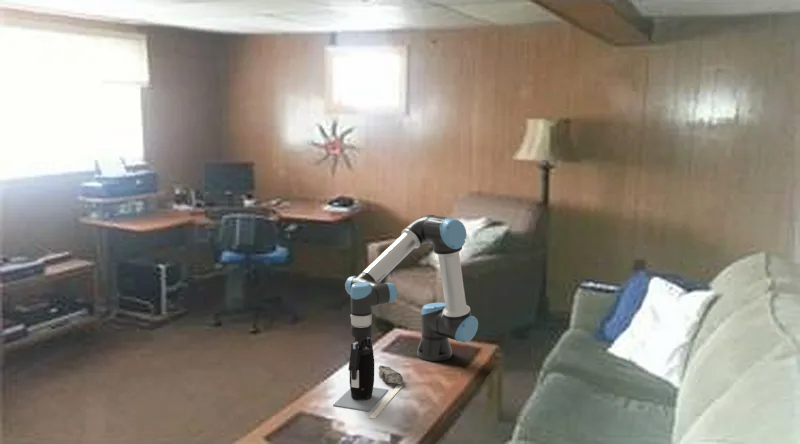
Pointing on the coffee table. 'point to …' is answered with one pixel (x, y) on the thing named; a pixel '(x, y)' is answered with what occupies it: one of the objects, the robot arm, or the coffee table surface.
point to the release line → (385, 402)
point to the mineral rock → (390, 375)
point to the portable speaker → (364, 375)
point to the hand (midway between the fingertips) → (361, 381)
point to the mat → (360, 400)
